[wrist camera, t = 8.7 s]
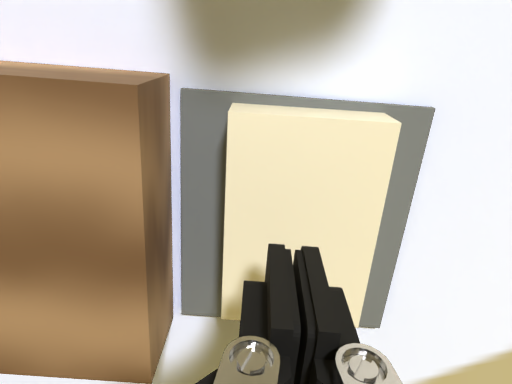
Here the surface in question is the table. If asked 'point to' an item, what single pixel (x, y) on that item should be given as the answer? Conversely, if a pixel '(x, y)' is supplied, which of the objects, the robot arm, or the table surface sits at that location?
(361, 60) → the table surface
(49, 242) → the brown wooden slab
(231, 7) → the table surface
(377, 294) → the mat
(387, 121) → the block
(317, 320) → the robot arm
